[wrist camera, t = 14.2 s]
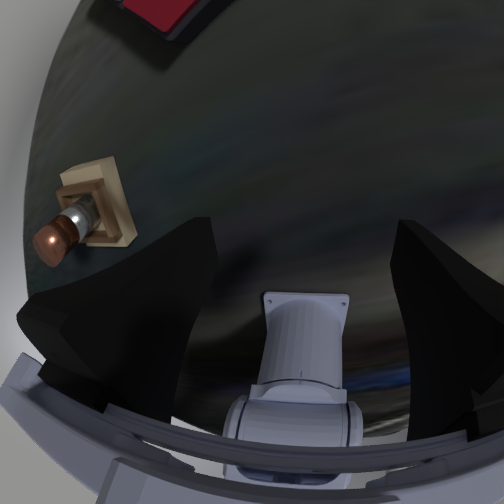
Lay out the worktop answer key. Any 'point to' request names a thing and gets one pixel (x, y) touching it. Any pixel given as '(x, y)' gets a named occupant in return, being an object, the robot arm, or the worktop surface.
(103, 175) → the tan rectangular frame
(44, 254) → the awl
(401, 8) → the worktop surface
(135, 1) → the calculator
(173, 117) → the worktop surface
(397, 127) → the worktop surface
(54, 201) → the worktop surface
